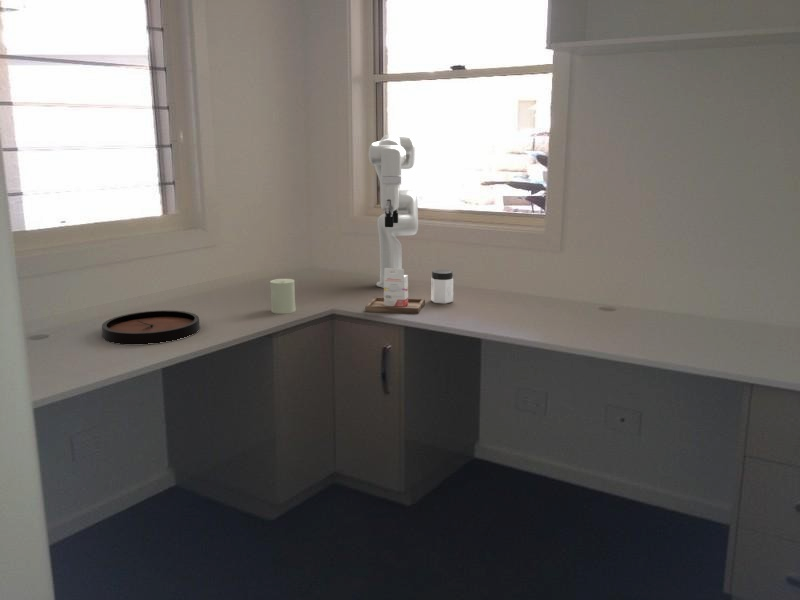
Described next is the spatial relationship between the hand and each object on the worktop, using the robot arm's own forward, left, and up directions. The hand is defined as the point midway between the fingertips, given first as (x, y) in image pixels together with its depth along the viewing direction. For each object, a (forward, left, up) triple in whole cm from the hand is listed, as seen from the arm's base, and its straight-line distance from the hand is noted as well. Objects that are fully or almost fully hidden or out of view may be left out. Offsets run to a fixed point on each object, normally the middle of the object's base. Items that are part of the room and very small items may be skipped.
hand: (391, 224), depth 283 cm
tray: (+9, +3, -31) cm, 32 cm away
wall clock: (+57, -72, -31) cm, 97 cm away
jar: (-5, +19, -31) cm, 37 cm away
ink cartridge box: (+8, +3, -30) cm, 31 cm away
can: (+21, -38, -31) cm, 53 cm away
